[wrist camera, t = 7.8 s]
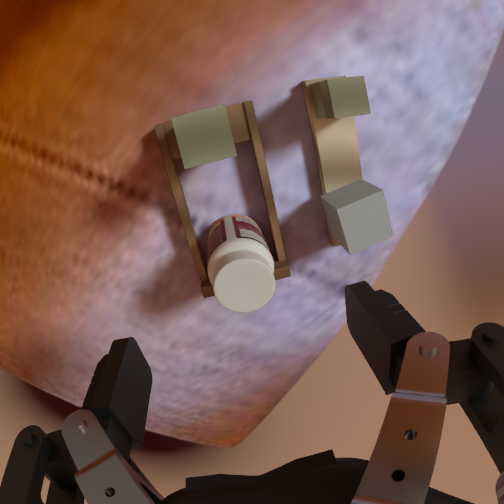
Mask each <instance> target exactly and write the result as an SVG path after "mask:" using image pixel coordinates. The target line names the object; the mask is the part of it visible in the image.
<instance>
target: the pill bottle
mask: <svg viewBox="0 0 504 504" xmlns="http://www.w3.org/2000/svg"><path fill="white" fill-rule="evenodd" d="M207 271H208V276H209V280H210V282H211V284H212V286H213V291H214V294H215V297H216V299H217V300H218V302H219V303H220V304H221V305H222V306H223V307H225V308H226V309H228V310H231V311H234V312H239V313H246V312H252V311H255V310H257V309H259V308H261V307H263V306H264V305H265V304H266V303H267V302H268V301H269V300H270V299H271V297H272V295H273V293H274V289H275V278H274V275H273V274H274V261H273V257H272V255H271V253H270V251H269V248H268V246H267V244H266V241H265V239H264V237H263V234H262V232H261V230H260V228H259V226H258V225H257V223H256V222H255V221H253V220H252V219H251V218H249V217H247V216H245V215H241V214H232V215H227V216H224V217H222V218H220V219H219V220H218V221H217V222H215V224H214V225H213V226H212V228H211V229H210V232H209V235H208V265H207Z"/></svg>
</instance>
